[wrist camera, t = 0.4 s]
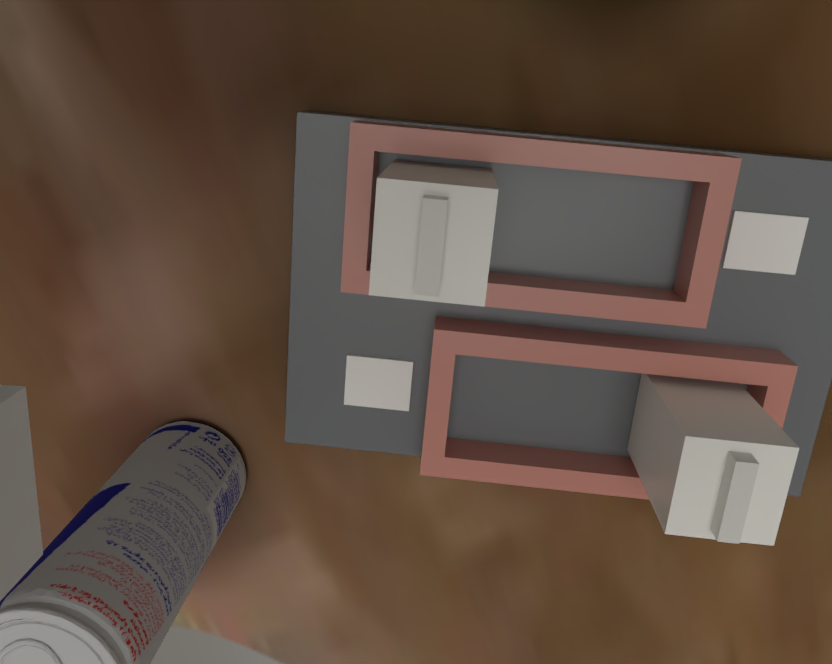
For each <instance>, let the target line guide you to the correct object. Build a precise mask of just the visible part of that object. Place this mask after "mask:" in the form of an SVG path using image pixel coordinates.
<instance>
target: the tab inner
mask: <svg viewBox="0 0 832 664" xmlns="http://www.w3.org/2000/svg"><path fill="white" fill-rule="evenodd" d="M498 190H499V189H498V186H497V183H496V180H495V177H494V173H493V170H492V168H487V167H476V166H465V165H455V164H444V163H433V162H423V161H412V160H401V159H395V160H394V161H393V162H392V163H391V164H390V165H389V166H388V167H387V168H386V169H385V170H384V171H383V172H382V173H381V174H380V175H379V176H378V177H377V183H376V197H375V212H374V226H373V240H372V255H371V269H370V284H369V295H372V296H382V297H392V298H402V299H412V300H422V301H432V302H442V303H452V304H462V305H472V306H482V307H485V300H486V292H487V283H488V275H489V266H490V258H491V249H492V241H493V232H494V224H495V215H496V207H497V198H498Z"/></svg>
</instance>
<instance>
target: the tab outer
mask: <svg viewBox="0 0 832 664" xmlns="http://www.w3.org/2000/svg"><path fill="white" fill-rule="evenodd" d="M627 450H628V453H629V455H630V457H631V459H632V462H633V464H634V466H635V468H636V470H637V473H638V475H639V477H640V479H641V482H642V484H643V486H644V488H645V491H646V493H647V495H648V497H649V500H650V502H651V504H652V506H653V509H654V511H655V513H656V515H657V518H658V520H659V522H660V524H661V527H662V529H663V531H664V533H665V534H670V535H679V536H689V537H698V538H707V539H716V540H717V541H718V542H727V543H737V544H740V542H744V543H753V544H762V545H772V546H774V543H775V539H776V535H777V531H778V527H779V524H780V520H781V516H782V512H783V509H784V505H785V501H786V497H787V493H788V490H789V486H790V482H791V478H792V474H793V471H794V467H795V463H796V459H797V456H798V452H799V447H798V446H797V445H796V444H795V443H794V441H793V440H792V439H791V438H790V437H789V436H788V435H787V434H786V433H785V432H784V431H783V430H782V429H781V427H780V426H779V425H778V424H777V423H776V422H775V421H774V420H773V419H772V418H771V417H770V416H769V414H768V413H767V412H766V411H765V410H764V409H763V408H762V407H761V406H760V405H759V404H758V403H757V402H756V400H755V399H754V398H753V397H752V396H751V395H750V394H749V393H748V392H747V391H746V390H745V389H744V387H743V386H742V385H741V384H740V383H731V382H722V381H712V380H702V379H692V378H682V377H672V376H663V375H653V374H643V373H641V379H640V384H639V389H638V395H637V400H636V405H635V411H634V416H633V421H632V426H631V432H630V437H629V442H628V448H627Z"/></svg>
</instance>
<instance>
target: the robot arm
mask: <svg viewBox="0 0 832 664" xmlns="http://www.w3.org/2000/svg"><path fill="white" fill-rule="evenodd" d="M42 555H43V548H42V538H41V529H40V519H39V510H38V500H37V491H36V481H35V471H34V462H33V452H32V443H31V433H30V424H29V414H28V405H27V395H26V387H21V386H8V385H0V601H1V600H2V599H3V598H4V597H5V596H6V594H7V593H8V592H9V591H10V590H11V589H12V588H13V587H14V586H15V585H16V583H17V582H18V581H19V580H20V579H21V578H22V577H23V576H24V575H25V574H26V572H27V571H28V570H29V569H30V568H31V567H32V566H33V565H34V564H35V563H36V562H37V560H38V559H39V558H40V557H41V556H42Z"/></svg>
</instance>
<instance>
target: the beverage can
mask: <svg viewBox="0 0 832 664" xmlns="http://www.w3.org/2000/svg"><path fill="white" fill-rule="evenodd" d="M245 485H246V470H245V465H244V462H243V459H242V457H241V455H240V453H239V451H238V450H237V448H236V447H235V446H234V444H233V443H232V442H231V441H230V440H229V439H228V438H227V437H226V436H224V435H223V434H222V433H220V432H219V431H217V430H215V429H214V428H211V427H209V426H207V425H204V424H201V423H196V422H189V421H180V422H173V423H169V424H166V425H163V426H161V427H159V428H157V429H156V430H154V431H153V432H152V433H150V434H149V435H148V437H147V438H146V439H145V440H144V441H143V443H142V444H141V445H140V446H139V447H138V448H137V449H136V450H135V451H134V452H133V453H132V455H131V456H130V457H129V458H128V459H127V460H126V461H125V462H124V463H123V464H122V466H121V467H120V468H119V469H118V470H117V471H116V472H115V473H114V474H113V475H112V477H111V478H110V479H109V480H108V481H107V482H106V483H105V484H104V485H103V486H102V488H101V489H100V490H99V491H98V492H97V493H96V494H95V495H94V496H93V497H92V498H91V500H90V501H89V502H88V503H87V504H86V505H85V506H84V507H83V508H82V509H81V511H80V512H79V513H78V514H77V515H76V516H75V517H74V518H73V519H72V520H71V522H70V523H69V524H68V525H67V526H66V527H65V528H64V529H63V530H62V531H61V532H60V534H59V535H58V536H57V537H56V538H55V539H54V540H53V541H52V542H51V543H50V545H49V546H48V547H47V548H46V549H45V550H44V551H43V555H42V556H41V557H40V558H39V559H38V560H37V562H36V563H35V564H34V565H33V566H32V567H31V568H30V569H29V570H28V571H27V572H26V574H25V575H24V576H23V577H22V578H21V579H20V580H19V581H18V582H17V583H16V585H15V586H14V587H13V588H12V589H11V590H10V591H9V592H8V593H7V594H6V596H5V597H4V598H3V599H2V600H1V601H0V664H150V663H151V661H152V659H153V658H154V656H155V654H156V652H157V650H158V648H159V647H160V645H161V643H162V641H163V639H164V637H165V635H166V634H167V632H168V630H169V628H170V627H171V625H172V623H173V621H174V619H175V617H176V616H177V614H178V612H179V610H180V608H181V606H182V605H183V603H184V601H185V599H186V597H187V596H188V594H189V592H190V590H191V588H192V586H193V585H194V583H195V581H196V579H197V577H198V575H199V574H200V572H201V570H202V568H203V566H204V564H205V563H206V561H207V559H208V557H209V555H210V554H211V552H212V550H213V548H214V546H215V544H216V543H217V541H218V539H219V537H220V535H221V533H222V532H223V530H224V528H225V526H226V524H227V523H228V521H229V519H230V517H231V515H232V513H233V512H234V510H235V508H236V506H237V504H238V502H239V501H240V499H241V497H242V495H243V492H244V490H245Z"/></svg>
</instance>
